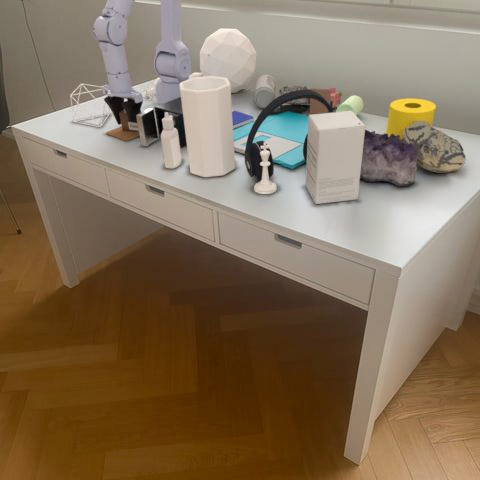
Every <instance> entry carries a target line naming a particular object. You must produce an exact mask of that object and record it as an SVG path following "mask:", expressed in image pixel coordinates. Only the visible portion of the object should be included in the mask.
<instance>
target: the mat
mask: <svg viewBox="0 0 480 480" xmlns="http://www.w3.org/2000/svg"><path fill="white" fill-rule="evenodd" d="M106 135H108V136H111V137H114V138H118V139H119V140H123V141H125V142H128V141H132V140H134V139H136V138H138V137H140V134H139V131H138V132H128V131H123V130H122V125H121V126H118V127H115V128H113V129H111V130H108V131H106Z"/></svg>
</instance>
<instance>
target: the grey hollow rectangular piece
mask: <svg viewBox="0 0 480 480" xmlns="http://www.w3.org/2000/svg"><path fill="white" fill-rule="evenodd" d="M136 117H137V121H134V120H129V121H128V125H129V129H130V130H136V131H139V134H140V136H139V138H140V144H141V146H142V147H149V146H150V145H151V144H153V143H155V142H156V141H157V140H159V133H158V127H157V121H156V114H155V108H150V107H148V108H146V109H145V110H143V111H141V113H139V114H138V115H136Z"/></svg>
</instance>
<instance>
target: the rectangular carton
mask: <svg viewBox="0 0 480 480" xmlns="http://www.w3.org/2000/svg"><path fill="white" fill-rule="evenodd" d="M333 112H334V113H324V114H313V115H310V114H308V115H307V116H308V139H307V162H306V166H305V167H306V170H305V172H306V173H305V187H306V189H307V191H308V193H309V195H310V196H311V198H312V201H313V203H314V204H315V205H317V204H318V205H319V204H320V205H321V204H328V203H336V202H346V201H347V202H348V201H355V200H358V198H359V189H360V182H361V181H360V180H361V178H360V172H361V162H362V153H363V144H364V135H365V129H366V124H364V123H363V122H362V120H360V118H359V117H358V115H357V116H356V115H355V114H354V113H353V112H352V111H343V112H336V111H333Z"/></svg>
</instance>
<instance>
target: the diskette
mask: <svg viewBox="0 0 480 480" xmlns="http://www.w3.org/2000/svg"><path fill="white" fill-rule="evenodd" d="M255 121H256V120H254V121H253V122H250V123H248V124H245V125H242V126H240V127H237V128H234V129H233V137H234V152H237V153H239V154H240V153H241V154H243V155H245V148H246V143H247V139H248V135H249V133H250V130H251V128H252V126H253V124H254V122H255ZM307 133H308V115H306V114H301V113H298V112H296V113H293V112H290V111H288V112H284V113H281V114H270V115H269V116H268V117H267V118H266V119H265V120H264V121H263V123H262V124H261V125H260V127H259V129H258V131H257V133H256V135H255V137H254V140H253V143H254V142H255V143H256V142H258V141H264V142H266V144H267V145H269V149H270V151H271V154H272V158H273V164H274V163H275V164H278V165H281V166H282V167H285V168H288V169H296V168H297V167H300V166H301V165H303V164H305V163H307V162H306V161H305V159H304V156H303V145H304V141H305V138H306V135H307Z"/></svg>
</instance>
